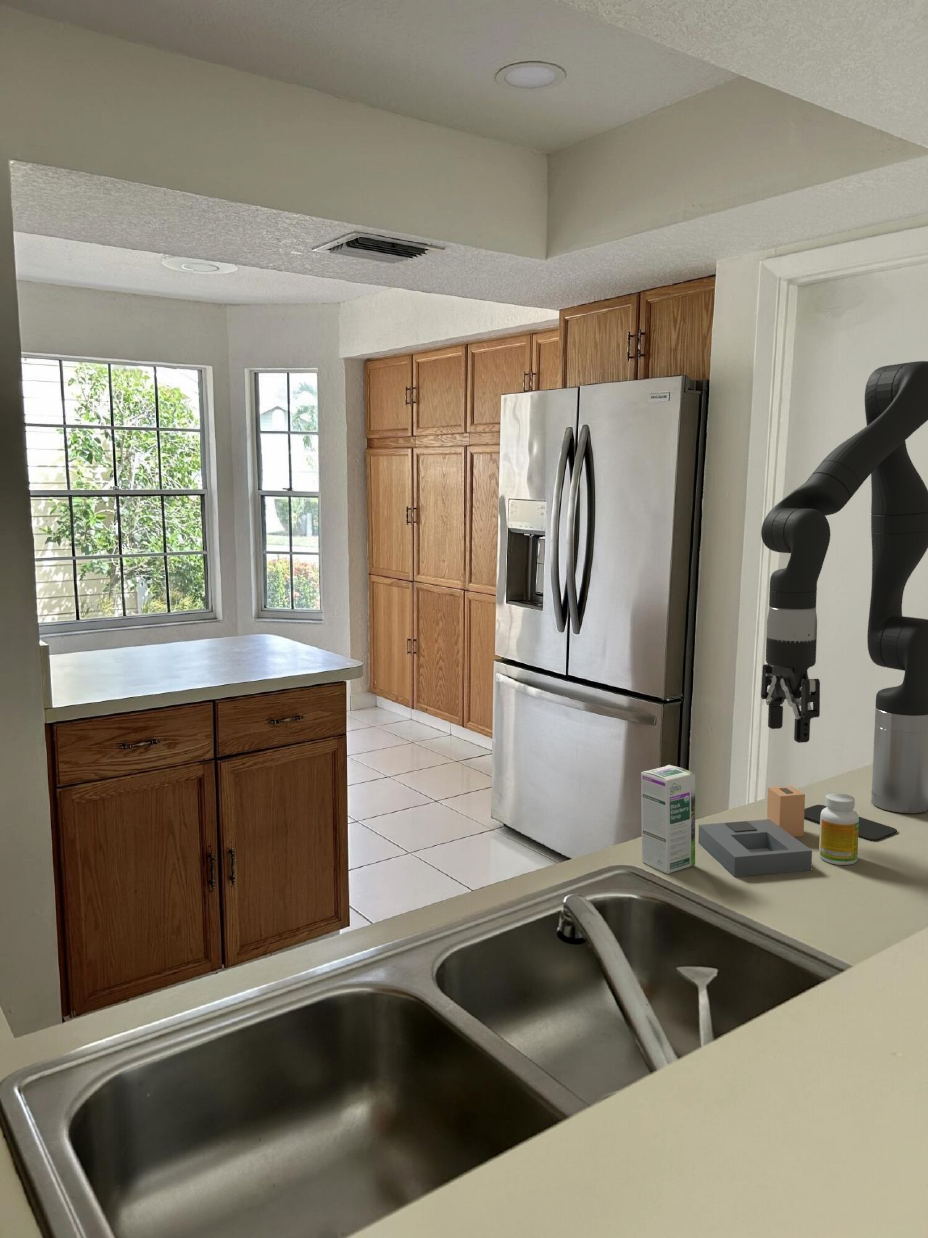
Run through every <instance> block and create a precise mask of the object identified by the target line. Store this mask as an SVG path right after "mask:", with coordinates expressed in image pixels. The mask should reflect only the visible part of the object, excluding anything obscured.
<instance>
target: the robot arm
mask: <svg viewBox="0 0 928 1238" xmlns="http://www.w3.org/2000/svg"><path fill="white" fill-rule="evenodd" d="M864 412H865V420H866V425H865V427H864V428H863V429H861V430H859V431H858V432H857V433H855V434H854V435H852V436H851V437H849V438H847V439H845V440H844V441H843V442H842V443H840V444H839V445H837V447H835V448H834V449H833V450H832V451H830V452H829V453H828V454H827V456H826V457H825V458H823V460H822V461H821V462H820V464H819V465H818V466H817V467H816V469H815V470H814V471H813V472H812V473H811V474H810V476H809V477H808V478H807V480H806V481H805V482H804V483H803V484H801V485H800V486H798V487H797V488H795V489H794V490H793V491H792V492H790V493H789V494H788V495H786V496H785V497H784V498H783V499H781V500H780V501H779V502H778V503H776V505H774V507H772V509H770V511H769V512H768V513H767V515H766V516H765V518H764V520H763V522H762V526H761V529H760V536H761V540H762V542H763V544H764V546H765V547H766V548H767V549H768V550H770V551H773V552H776V553H781V554H783V553H784V554H790V556H789V560H788V563H787V566H786V567H784V568H780V569H776V570H775V571H773V572H772V573H771V575H770V578H769V598H768V599H769V600H768V601H769V602H768V613H767V619H766V634H765V635H766V639H765V663H766V664H763V665H762V672H761V673H762V675H761V688H760V689H761V690H760V697H761V700H765V704H766V705H767V706H768V708H767V709H768V711H767V715H768V716H767V726H768V728H769V729H771V730H775V729H776V730H777V729H779V730H780V729H782V727H783V723H784V722H783V721H784V720H783V719H784V718H783V716H784V706H782V705H783V704H784V703H785V701H787V704H788V706H789V707H790V708H792V711H793V714H794V727H793V728H794V729H793V730H794V731H793V734H794V735H793V739H794V741H795V742H796V743H808V742H809V741H810V736H811V720H812V719H813V718H820V716H821V715H820V713H821V710H820V707H821V681H820V679H819V678H809V674H808V670H809V669H810V668H811V667H814V666H815V665H816V663H817V643H818V642H817V639H818V617H817V616H818V614H817V598H818V597H817V595H818V594H817V593H818V591H817V590H818V586H817V585H818V581H819V577H820V575H821V571H822V568H823V565H824V562H825V559H826V556H827V554H828V553H827V552H828V549H829V546H830V542H831V528H830V523H829V521H828V518H827V516H831V515H834V514H837V513H838V512H840V511H841V510H842V509H843V508H844V507H845V506H846V505H847V504H848V503H849V502H850V500H851V498H853V496H854V495H855V494H856V492H857V491H858V490H859V489H860V488H861V486H862V485H863V484H864V482H865V481H866V480H867V479H868V477H869V476H870V484H871V504H870V508H871V509H870V513H871V514H870V530H871V533H870V534H871V557H872V558H871V561H872V562H871V591H870V592H871V593H870V601H869V610H868V611H869V612H868V622H867V623H868V625H867V639H866V640H867V650H868V654H869V657H870V659H871V661H872V663H874V664H875V665H877V666H878V667H883V668H887V669H893V670H898V671H904V677H903V681H902V683H901V684H900V685H897V686H889V687H885V688H883V689H880V690H878V691H877V692H876V695H875V713H874V731H873V732H874V734H873V735H874V737H873V756H872V774H871V775H872V779H871V780H872V781H871V799H870V800H871V803H872V804H873V805H874V806H875V807H878V808H879V809H881V810H882V809H883V810H886V811H889V812H895V813H902V814H919V813H925V812H927V811H928V619H927V618H921V617H920V618H919V617H912V616H904V615H903V611H902V610H903V599H904V591H905V589H906V588H905V587H906V585H907V582H908V580H909V579H910V577H911V576H912V573H913V572H914V570H915V569H916V568H917V566H918V565H919V563H920V561H921V560H922V559H923V557H924V555H925V554H926V552H927V550H928V488H927V485H926V484H925V482H924V480H923V478H922V477H921V475H920V474H919V472H918V470H917V469H916V467H915V465H914V463H913V461H912V460H911V458H910V455H909V453H908V448H907V443H906V440H907V439H908V438H910V437H911V436H912V435H913V434H914V433H915V432H916V431H917V430H918V429H920V428H921V427H922V426H923V425H924V424H926V422H928V360H922V361H921V360H919V361H910V362H903V363H896V364H888V365H884V366H880V367H878V368H876V369H874V371H873V372H871V374H870V376H869V377H868V379H867V382H866V385H865V391H864ZM811 703H812V705H811Z"/></svg>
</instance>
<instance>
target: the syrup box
mask: <svg viewBox="0 0 928 1238" xmlns="http://www.w3.org/2000/svg"><path fill="white" fill-rule="evenodd" d="M640 779H641V780H640V783H641V785H640V790H641V791H640V792H641V795H640V797H641V798H640V799H641V803H640V805H641V814H640V815H641V861H642V863H644V864H645V865H648V866H649V867H650V868H653V869H654V870H655V869H656V870H657V871H659V872H662V873H664V874H666V875H670V874H672V873H674V872H677V871H680V870H683V869H687V868H690V867H693V866H695V865H696V774H695V772H693V771H690V770H688V769H685V768H683V767H679V766H675V765H671V764H667V765H665V766H662V767H661V766H660V767H657V768H653V769H650V770H649V769H648V770H644V771H641V773H640Z"/></svg>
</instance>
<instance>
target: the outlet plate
mask: <svg viewBox="0 0 928 1238" xmlns="http://www.w3.org/2000/svg"><path fill="white" fill-rule="evenodd" d="M697 842H698V844H699V845H700V846H701V847H702V848H703V849H704V850H705V851H707V853H709V855H711V856H712V858H713V859H715V860H716V862H718V863H719V864H720V865H721V866H722V867H723V868H725V869H726V871H728V872H729V873H730V874H731V875H732V876H733V877H735V878H738V877H746V876H747V877H748V876H757V875H759V876H760V875H769V874H782V873H793V872H802V871H803V872H804V871H812V863H813V850H812V849H811V848H809V847H808V846H807V845H805V844H804V843H802V842H801V841H800V840H799V839H797V838H796V837H793V836H792V835H790V834H789V833H788V832H786V831H785V830H784V829H782V828H781V827H780V826H778V825H777V824H776V823H774V822H773V821H771V820H770V819H767V818H766V819H757V820H755V819H754V820H743V821H729V822H717V823H705V824H698V841H697Z"/></svg>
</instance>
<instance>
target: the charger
mask: <svg viewBox="0 0 928 1238" xmlns="http://www.w3.org/2000/svg"><path fill="white" fill-rule="evenodd" d="M805 802H806V794H805V793H804V792H802V791H801V790H798V789H797V788H796V787H794V786H793V785H787V786H773V787H767V806H766V807H767V808H766V809H767V811H766V819H770V820H771V821H773V822H774V823H776V824H777V825H778V826H780V827H781V828H782V829H784V830H785V831H786V832H788V833H789V834H790V835H792V836H793V837H794V838H796V837H797V838H798V837H804V834H805V831H804V830H805V819H804V809H805V808H806V807H805V805H806V803H805Z"/></svg>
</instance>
